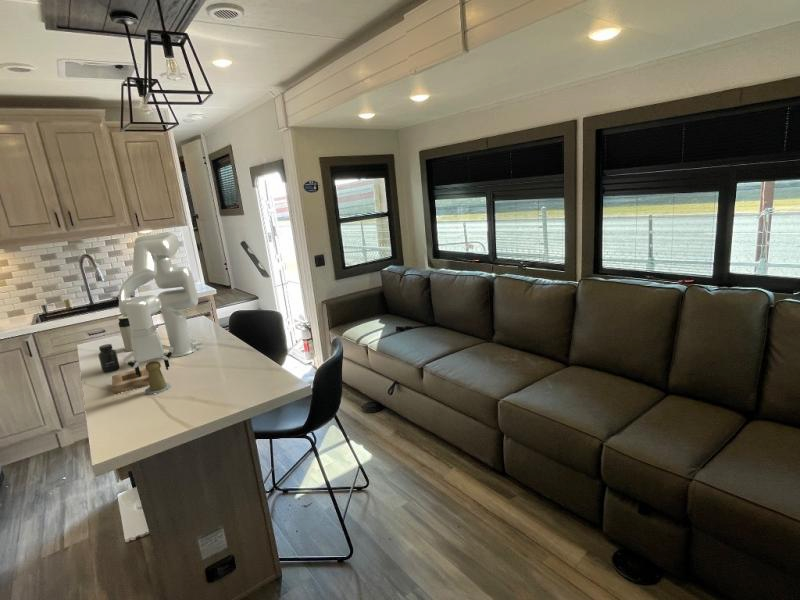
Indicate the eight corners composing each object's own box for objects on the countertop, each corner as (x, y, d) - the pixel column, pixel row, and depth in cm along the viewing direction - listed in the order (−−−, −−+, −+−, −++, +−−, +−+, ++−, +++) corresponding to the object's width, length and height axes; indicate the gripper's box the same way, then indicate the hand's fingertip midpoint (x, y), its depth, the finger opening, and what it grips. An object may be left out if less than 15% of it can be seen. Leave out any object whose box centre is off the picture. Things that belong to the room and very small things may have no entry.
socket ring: (151, 373, 187) (149, 366, 187) (153, 384, 176) (151, 376, 175) (114, 383, 180) (112, 376, 179) (114, 395, 169) (111, 387, 168)
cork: (149, 392, 167) (142, 366, 164) (150, 386, 172) (144, 361, 169) (166, 388, 169) (160, 362, 166) (167, 383, 174) (161, 358, 172)
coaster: (169, 382, 177) (168, 380, 177) (171, 389, 169) (171, 388, 169) (144, 388, 172) (144, 387, 172) (145, 396, 165) (145, 395, 165)
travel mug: (146, 346, 225) (137, 314, 221) (130, 352, 219) (121, 318, 214) (138, 345, 230) (130, 313, 225) (122, 350, 223) (113, 317, 219)
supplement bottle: (111, 373, 192) (104, 348, 189) (99, 373, 194) (92, 348, 191) (123, 367, 199) (117, 343, 196) (111, 367, 200) (105, 343, 197)
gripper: (167, 324, 172) (176, 363, 176) (117, 335, 163) (128, 376, 168) (169, 328, 166) (178, 368, 170) (117, 339, 157) (128, 382, 161)
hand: (153, 372), depth 169 cm, fingers open, 9 cm apart
